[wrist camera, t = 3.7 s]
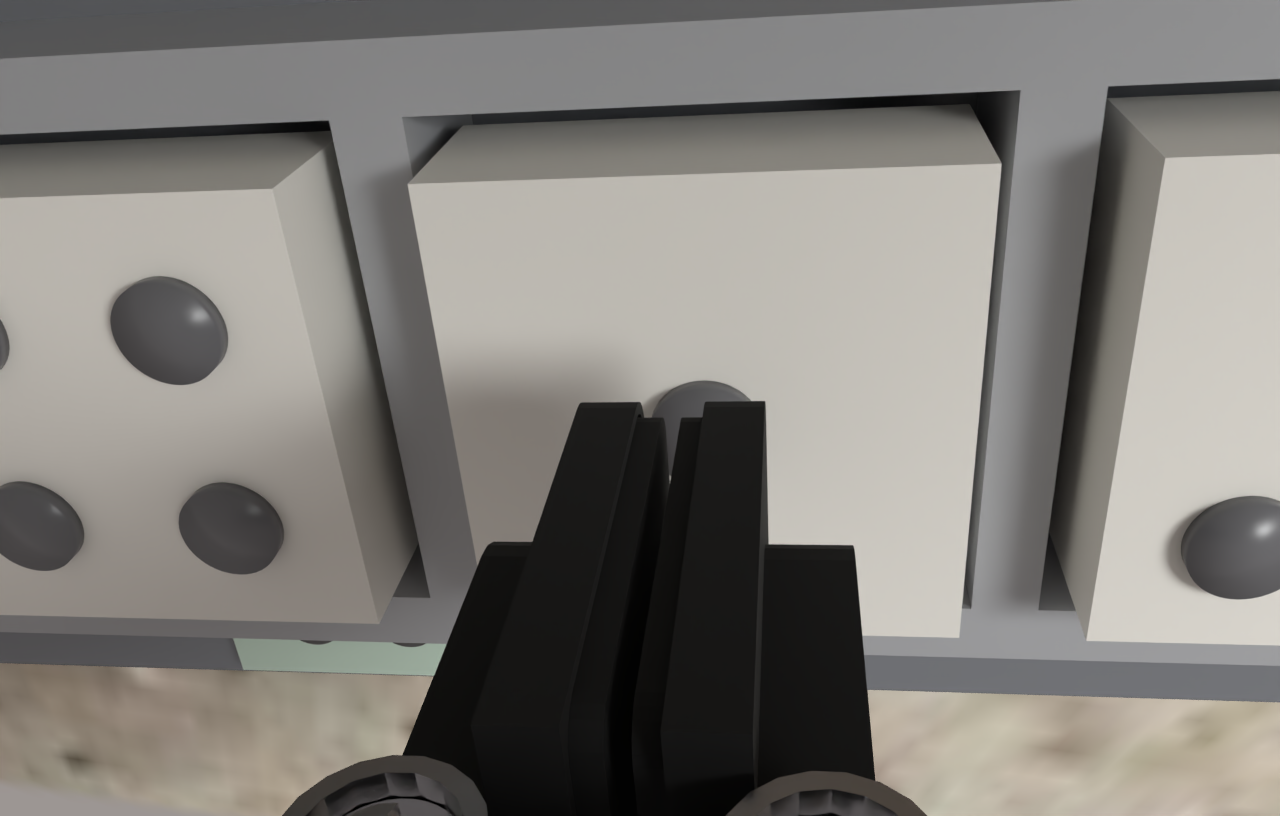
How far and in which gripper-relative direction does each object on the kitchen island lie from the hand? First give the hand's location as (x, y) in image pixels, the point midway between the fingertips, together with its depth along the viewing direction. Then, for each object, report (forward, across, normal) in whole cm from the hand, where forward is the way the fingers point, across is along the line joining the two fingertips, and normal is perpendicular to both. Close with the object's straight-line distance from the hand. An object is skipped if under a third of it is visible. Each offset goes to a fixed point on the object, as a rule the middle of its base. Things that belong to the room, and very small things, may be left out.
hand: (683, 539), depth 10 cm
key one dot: (+4, 0, 0) cm, 4 cm away
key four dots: (+4, +7, 0) cm, 8 cm away
